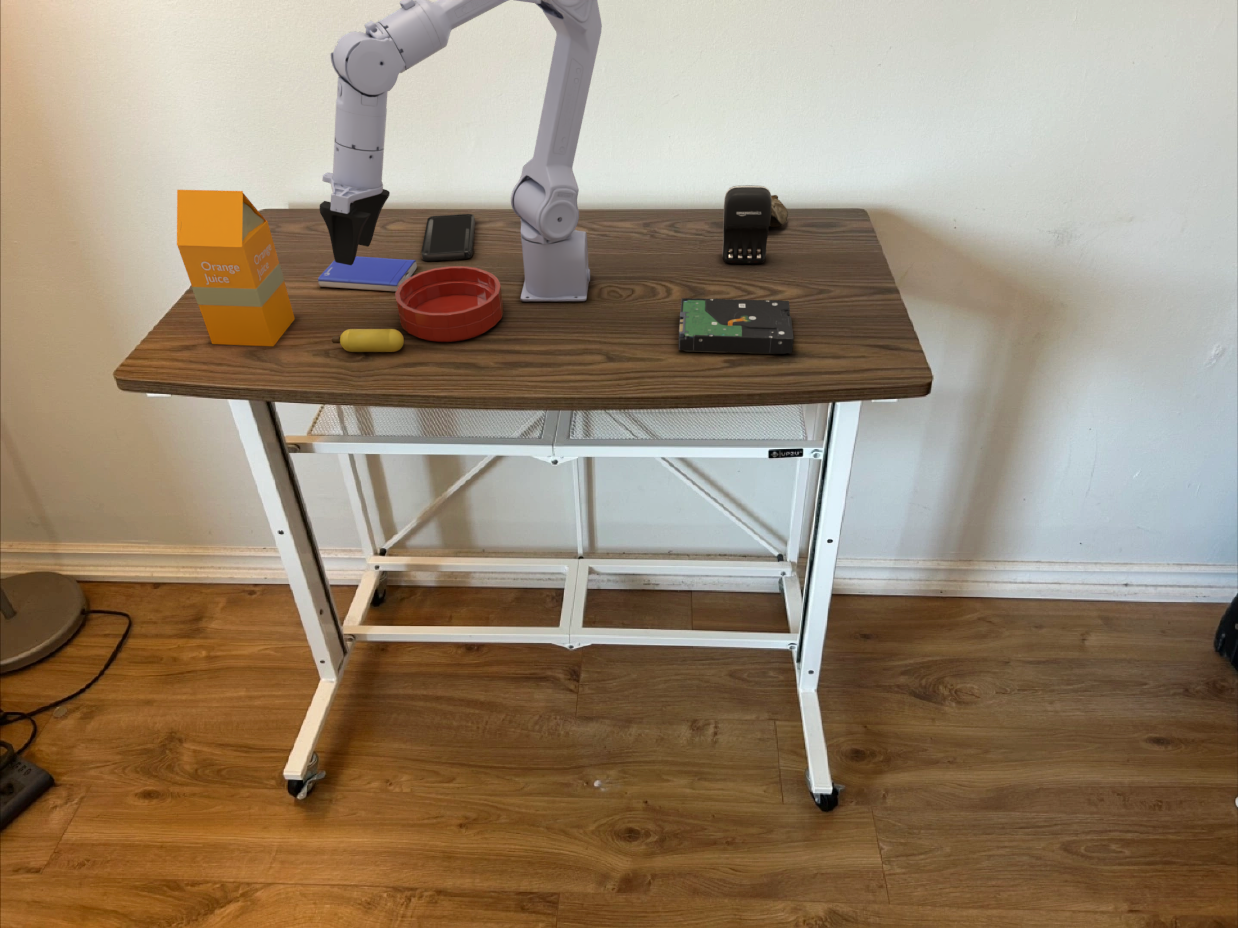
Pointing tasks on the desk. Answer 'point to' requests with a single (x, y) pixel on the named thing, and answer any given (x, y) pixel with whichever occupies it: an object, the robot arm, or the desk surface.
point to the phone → (448, 237)
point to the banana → (370, 340)
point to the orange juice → (232, 267)
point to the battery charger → (746, 224)
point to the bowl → (449, 303)
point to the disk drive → (735, 326)
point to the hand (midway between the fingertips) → (352, 253)
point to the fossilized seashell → (778, 212)
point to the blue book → (368, 274)
